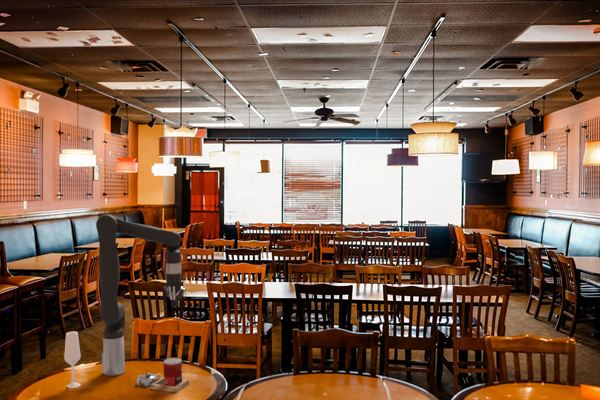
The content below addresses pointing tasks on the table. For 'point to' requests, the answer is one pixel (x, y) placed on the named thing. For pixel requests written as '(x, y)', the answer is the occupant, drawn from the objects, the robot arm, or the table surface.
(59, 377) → the table surface
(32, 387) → the table surface
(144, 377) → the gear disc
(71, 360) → the champagne flute
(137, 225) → the robot arm
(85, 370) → the table surface
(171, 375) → the canned food
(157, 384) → the cradle
